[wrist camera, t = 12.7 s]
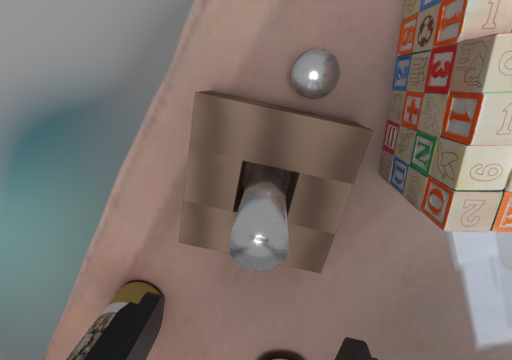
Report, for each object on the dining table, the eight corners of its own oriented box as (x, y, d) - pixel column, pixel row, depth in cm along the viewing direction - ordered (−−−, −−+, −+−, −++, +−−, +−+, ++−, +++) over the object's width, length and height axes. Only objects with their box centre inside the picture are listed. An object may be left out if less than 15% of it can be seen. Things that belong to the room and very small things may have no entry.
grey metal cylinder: (335, 58, 25) (345, 54, 21) (323, 100, 27) (331, 102, 23) (295, 50, 25) (299, 44, 21) (286, 92, 27) (287, 93, 23)
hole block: (356, 122, 27) (373, 130, 22) (314, 246, 33) (320, 273, 28) (209, 90, 27) (195, 92, 22) (192, 220, 33) (178, 242, 28)
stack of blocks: (412, -63, 22) (566, -233, 10) (491, -69, 21) (749, -255, 10) (377, 175, 29) (444, 234, 17) (435, 175, 28) (543, 236, 17)
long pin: (287, 163, 29) (295, 226, 16) (279, 194, 31) (281, 276, 17) (253, 156, 29) (234, 213, 16) (247, 187, 31) (224, 263, 17)
